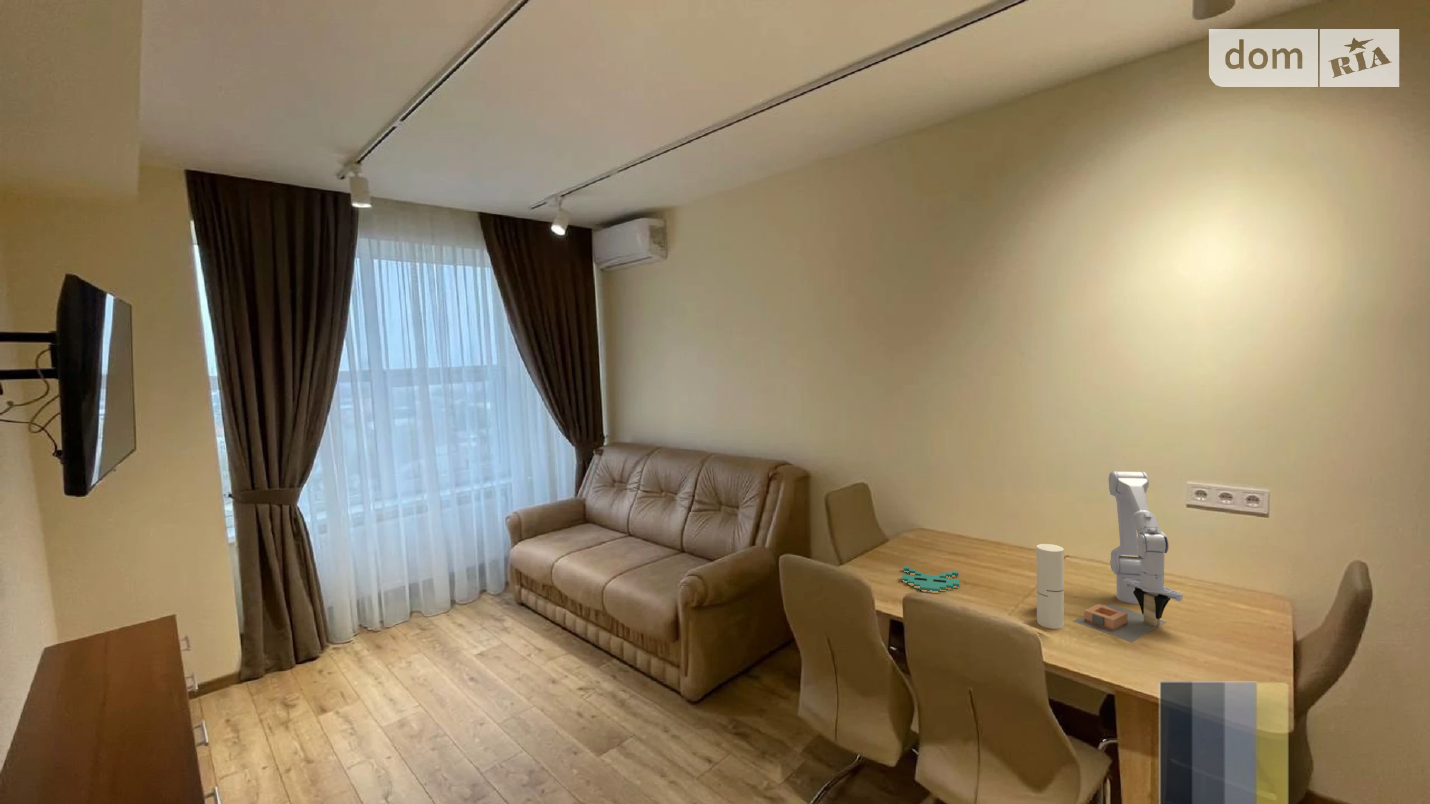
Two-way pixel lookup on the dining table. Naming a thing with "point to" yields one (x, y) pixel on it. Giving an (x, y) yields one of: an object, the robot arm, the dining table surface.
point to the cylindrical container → (1050, 586)
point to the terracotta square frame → (1105, 617)
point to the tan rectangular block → (1150, 610)
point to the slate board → (1130, 630)
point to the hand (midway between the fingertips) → (1151, 615)
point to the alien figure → (931, 580)
